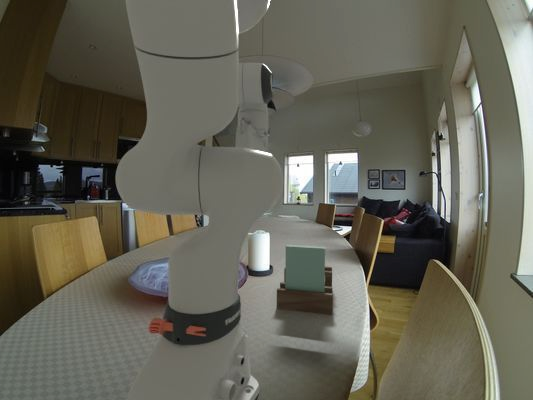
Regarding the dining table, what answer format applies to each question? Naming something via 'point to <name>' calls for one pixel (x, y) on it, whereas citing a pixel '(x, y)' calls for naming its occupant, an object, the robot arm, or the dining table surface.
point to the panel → (305, 268)
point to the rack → (307, 297)
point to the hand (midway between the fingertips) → (252, 172)
